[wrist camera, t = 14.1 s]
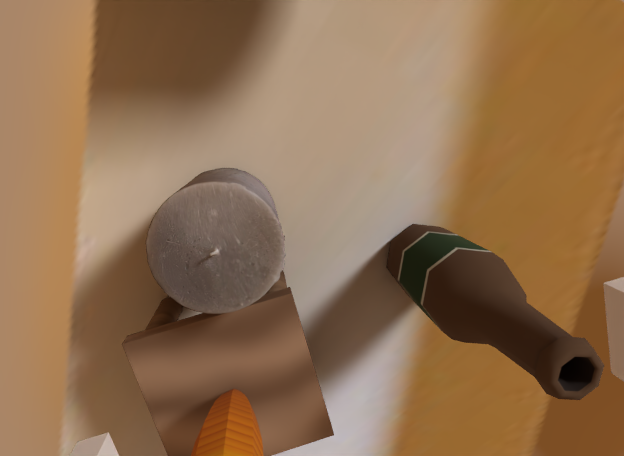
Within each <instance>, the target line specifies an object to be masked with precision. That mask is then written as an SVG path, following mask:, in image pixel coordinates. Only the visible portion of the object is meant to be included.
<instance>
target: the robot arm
mask: <svg viewBox="0 0 624 456" xmlns="http://www.w3.org/2000/svg"><path fill="white" fill-rule="evenodd" d="M604 294H605V306H606V316H607V329H608V340H609V351H610V363H611V372H612V373H613V374H614V375H616V376H617V377H618V378H620V379H621V380H623V381H624V277H622V278H619V279H616V280H612V281H609V282H605V283H604ZM70 456H119V454H118V452H117V450H116V448H115V445H114V443H113V441H112V439H111V437H110V434H109V432H108V433H104V434H101V435H98V436H94V437H91V438H88V439H84V440H81V441H78V442H77V443H76V445H75V447H74V449H73V450H72V452H71V454H70Z"/></svg>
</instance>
